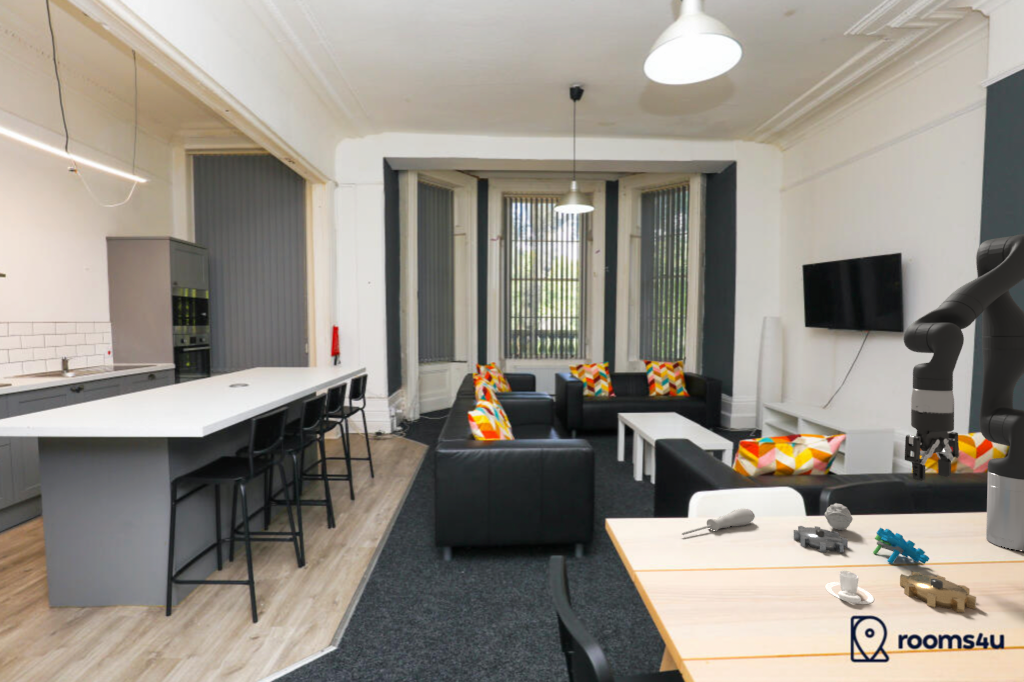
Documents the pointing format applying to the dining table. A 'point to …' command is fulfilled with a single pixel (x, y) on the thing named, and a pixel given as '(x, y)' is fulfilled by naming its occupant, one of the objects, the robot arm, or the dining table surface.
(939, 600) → the gear
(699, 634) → the dining table surface
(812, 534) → the gear
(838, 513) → the grey rounded lump
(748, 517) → the screwdriver
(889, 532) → the gear
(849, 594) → the teacup and saucer
